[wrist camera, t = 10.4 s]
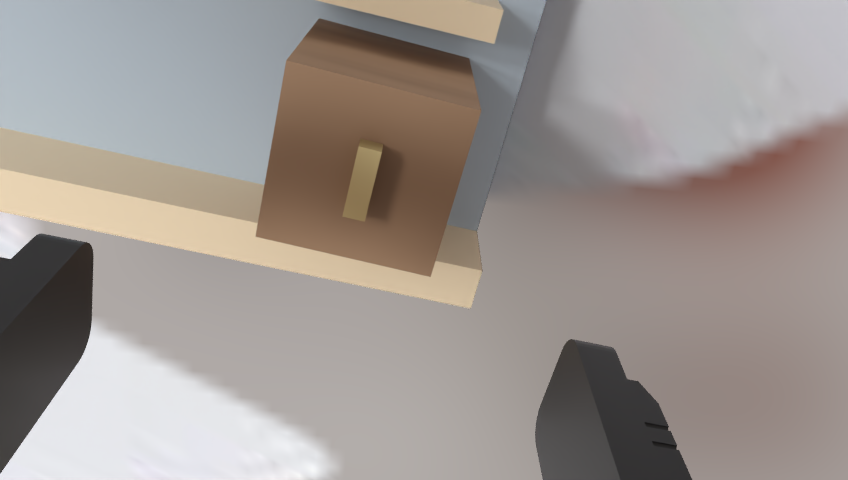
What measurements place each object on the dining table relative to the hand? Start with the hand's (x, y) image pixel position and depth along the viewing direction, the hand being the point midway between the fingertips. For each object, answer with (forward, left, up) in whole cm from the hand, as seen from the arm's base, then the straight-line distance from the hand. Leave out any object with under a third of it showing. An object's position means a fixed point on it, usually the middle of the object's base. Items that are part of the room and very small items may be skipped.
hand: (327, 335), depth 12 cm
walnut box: (0, 0, -14) cm, 14 cm away
